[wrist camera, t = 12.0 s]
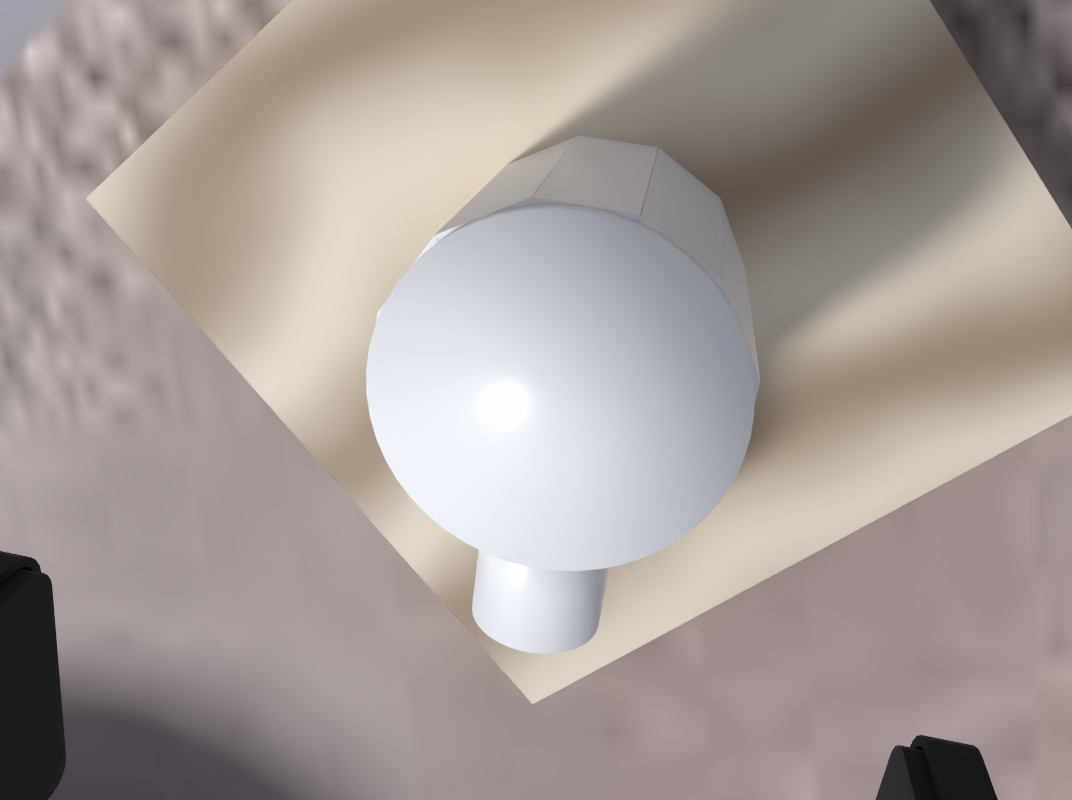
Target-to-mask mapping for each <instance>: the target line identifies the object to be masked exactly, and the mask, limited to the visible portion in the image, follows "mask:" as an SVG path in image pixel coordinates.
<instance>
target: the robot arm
mask: <svg viewBox="0 0 1072 800" xmlns="http://www.w3.org/2000/svg"><path fill="white" fill-rule="evenodd" d="M65 763H66V752H65V740H64V727H63V715H62V703H61V690H60V678H59V666H58V653H57V641H56V628H55V616H54V604H53V591H52V584H51V580H50V578H49V576H48V575H46V574H44V573H41V569H40V566H39V564H38V563H37V561H36V560H35V559H33V558H31V557H27V556H22V555H17V554H12V553H7V552H2V551H0V800H48V798H49V797H50V796H51V795H52V793H53V792H54V791H55V789H56V788H57V786H58V784H59V782H60V780H61V777H62V775H63V772H64V768H65ZM876 800H998V799H997V797H996V794H995V791H994V788H993V786H992V783H991V780H990V777H989V774H988V772H987V769H986V766H985V763H984V760H983V758H982V755H981V753H980V751H979V749H978V748H976V747H975V746H973V745H968V744H963V743H958V742H953V741H948V740H943V739H938V738H933V737H928V736H923V735H919V736H916V738H915V739H914V740H913V742H912V744H911V746H910V747H905V746H900V745H898V746H895V747H894V749H893V750H892V753H891V755H890V758H889V761H888V764H887V767H886V770H885V773H884V776H883V779H882V782H881V785H880V788H879V791H878V794H877V797H876Z"/></svg>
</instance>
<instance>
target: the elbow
mask: <svg viewBox="0 0 1072 800" xmlns="http://www.w3.org/2000/svg"><path fill="white" fill-rule="evenodd" d="M759 384H760V373H759V366H758V358H757V351H756V343H755V336H754V328H753V321H752V313H751V306H750V298H749V291H748V283H747V276H746V270H745V267H744V264H743V261H742V258H741V255H740V253H739V250H738V247H737V244H736V241H735V238H734V235H733V233H732V230H731V227H730V224H729V221H728V218H727V215H726V213H725V210H724V207H723V204H722V201H721V198H720V197H719V196H717V195H716V194H715V193H714V192H712V191H711V190H710V189H709V188H708V187H706V186H705V185H704V184H703V183H702V182H700V181H699V180H698V179H697V178H695V177H694V176H693V175H692V174H691V173H689V172H688V171H687V170H686V169H685V168H683V167H682V166H681V165H680V164H678V163H677V162H676V161H675V160H674V159H672V158H671V157H670V156H669V155H668V154H666V153H665V152H664V151H663V150H661V149H660V148H658V147H654V146H647V145H641V144H634V143H628V142H621V141H615V140H608V139H602V138H595V137H589V136H582V135H578V136H576V137H573V138H571V139H568V140H566V141H563V142H561V143H558V144H556V145H554V146H551V147H549V148H546V149H544V150H541V151H539V152H536V153H534V154H531V155H529V156H527V157H524V158H522V159H519V160H517V161H514V162H512V163H509V164H507V165H506V166H505V167H504V168H503V169H502V170H501V171H500V172H499V173H498V174H497V175H496V176H495V177H494V178H493V179H492V180H490V181H489V182H488V183H487V184H486V185H485V186H484V187H483V188H482V189H481V190H480V191H479V192H478V193H477V194H476V195H475V196H474V197H473V198H472V199H471V200H470V201H469V202H468V203H467V204H466V205H465V206H464V207H463V208H462V209H461V210H460V211H459V212H458V213H457V214H456V215H455V216H453V217H452V218H451V219H450V220H449V221H448V222H447V223H446V224H445V225H444V226H443V227H442V228H441V229H440V230H439V231H438V232H437V233H436V234H435V235H434V236H433V237H432V239H431V240H430V242H429V243H428V244H427V246H426V247H425V248H424V250H423V251H422V252H421V254H420V255H419V257H418V258H417V259H416V261H415V262H414V263H413V265H412V266H411V267H410V268H409V270H408V271H407V272H406V273H405V274H404V276H403V277H402V278H401V279H400V280H399V281H398V283H397V284H396V286H395V287H394V289H393V291H392V292H391V294H390V295H389V297H388V299H387V300H386V302H385V303H384V304H383V306H382V307H381V308H380V310H379V311H378V313H377V320H376V324H375V328H374V331H373V335H372V338H371V342H370V346H369V352H368V359H367V367H366V394H367V401H368V408H369V415H370V419H371V422H372V426H373V429H374V433H375V436H376V439H377V442H378V444H379V446H380V449H381V451H382V453H383V456H384V458H385V460H386V462H387V463H388V465H389V467H390V469H391V470H392V472H393V474H394V475H395V477H396V479H397V480H398V482H399V483H400V484H401V486H402V487H403V488H404V490H405V491H406V492H407V494H408V495H409V496H410V497H411V499H412V500H413V501H414V502H415V503H416V504H417V505H418V506H419V507H420V508H421V509H422V510H423V511H424V512H425V513H426V514H427V515H428V516H429V517H430V518H432V519H433V520H434V521H435V522H436V523H438V524H439V525H440V526H441V527H442V528H444V529H445V530H446V531H448V532H449V533H451V534H452V535H454V536H455V537H457V538H459V539H460V540H462V541H463V542H465V543H467V544H469V545H471V546H473V547H475V548H477V549H478V550H479V551H478V559H477V568H476V576H475V585H474V593H473V601H472V613H473V617H474V619H475V621H476V623H477V625H478V626H479V627H480V628H481V630H482V631H483V632H484V633H486V634H487V635H488V636H489V637H491V638H492V639H493V640H495V641H497V642H499V643H501V644H503V645H505V646H507V647H510V648H513V649H516V650H520V651H524V652H529V653H537V654H555V653H562V652H567V651H571V650H574V649H576V648H579V647H581V646H582V645H584V644H586V643H587V642H588V641H589V640H591V639H592V637H593V636H594V635H595V633H596V631H597V629H598V626H599V620H600V615H601V610H602V604H603V599H604V593H605V588H606V582H607V577H608V571H609V567H613V566H618V565H623V564H626V563H629V562H632V561H635V560H638V559H641V558H644V557H647V556H649V555H651V554H653V553H655V552H657V551H659V550H661V549H663V548H666V547H668V546H669V545H671V544H672V543H674V542H675V541H677V540H678V539H680V538H681V537H683V536H685V535H686V534H687V533H689V532H690V531H691V530H692V529H693V528H694V527H696V526H697V525H698V524H699V523H700V522H701V521H703V520H704V519H705V518H706V517H707V516H708V515H709V513H710V512H711V511H712V510H713V509H714V508H715V507H716V506H717V504H718V503H719V502H720V501H721V499H722V498H723V496H724V495H725V493H726V492H727V490H728V489H729V487H730V486H731V484H732V483H733V481H734V479H735V477H736V475H737V474H738V472H739V469H740V467H741V465H742V463H743V460H744V457H745V454H746V451H747V448H748V444H749V441H750V438H751V431H752V425H753V419H754V405H755V401H756V397H757V392H758V388H759Z"/></svg>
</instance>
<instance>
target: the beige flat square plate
mask: <svg viewBox="0 0 1072 800" xmlns="http://www.w3.org/2000/svg"><path fill="white" fill-rule="evenodd" d="M578 135H582V136H589V137H595V138H602V139H608V140H615V141H621V142H628V143H634V144H641V145H647V146H654V147H658V148H660V149H661V150H663V151H664V152H665V153H666V154H668V155H669V156H670V157H671V158H672V159H674V160H675V161H676V162H677V163H678V164H680V165H681V166H682V167H683V168H685V169H686V170H687V171H688V172H689V173H691V174H692V175H693V176H694V177H695V178H697V179H698V180H699V181H700V182H702V183H703V184H704V185H705V186H706V187H708V188H709V189H710V190H711V191H712V192H714V193H715V194H716V195H717V196H719V197H720V198H721V201H722V204H723V207H724V210H725V213H726V215H727V218H728V221H729V224H730V227H731V230H732V233H733V235H734V238H735V241H736V244H737V247H738V250H739V253H740V255H741V258H742V261H743V264H744V267H745V270H746V276H747V283H748V291H749V298H750V306H751V313H752V321H753V328H754V336H755V343H756V351H757V358H758V366H759V373H760V384H759V388H758V392H757V397H756V401H755V405H754V419H753V425H752V431H751V438H750V441H749V444H748V448H747V451H746V454H745V457H744V460H743V463H742V465H741V467H740V469H739V472H738V474H737V475H736V477H735V479H734V481H733V483H732V484H731V486H730V487H729V489H728V490H727V492H726V493H725V495H724V496H723V498H722V499H721V501H720V502H719V503H718V504H717V506H716V507H715V508H714V509H713V510H712V511H711V512H710V513H709V515H708V516H707V517H706V518H705V519H704V520H703V521H701V522H700V523H699V524H698V525H697V526H696V527H694V528H693V529H692V530H691V531H690V532H689V533H687V534H686V535H685V536H683V537H681V538H680V539H678V540H677V541H675V542H674V543H672V544H671V545H669V546H668V547H666V548H663V549H661V550H659V551H657V552H655V553H653V554H651V555H649V556H647V557H644V558H641V559H638V560H635V561H632V562H629V563H626V564H623V565H618V566H613V567H609V571H608V577H607V582H606V588H605V593H604V599H603V604H602V610H601V615H600V620H599V626H598V629H597V631H596V633H595V635H594V636H593V637H592V639H591V640H589V641H588V642H587V643H586V644H584V645H582V646H581V647H579V648H576V649H574V650H571V651H567V652H562V653H555V654H537V653H529V652H524V651H520V650H516V649H513V648H510V647H507V646H505V645H503V644H501V643H499V642H497V641H495V640H493V639H492V638H491V637H489V636H488V635H487V634H486V633H484V632H483V631H482V630H481V628H480V627H479V626H478V625H477V623H476V621H475V619H474V617H473V613H472V601H473V593H474V585H475V576H476V568H477V559H478V551H479V550H478V549H477V548H475V547H473V546H471V545H469V544H467V543H465V542H463V541H462V540H460V539H459V538H457V537H455V536H454V535H452V534H451V533H449V532H448V531H446V530H445V529H444V528H442V527H441V526H440V525H439V524H438V523H436V522H435V521H434V520H433V519H432V518H430V517H429V516H428V515H427V514H426V513H425V512H424V511H423V510H422V509H421V508H420V507H419V506H418V505H417V504H416V503H415V502H414V501H413V500H412V499H411V497H410V496H409V495H408V494H407V492H406V491H405V490H404V488H403V487H402V486H401V484H400V483H399V482H398V480H397V479H396V477H395V475H394V474H393V472H392V470H391V469H390V467H389V465H388V463H387V462H386V460H385V458H384V456H383V453H382V451H381V449H380V446H379V444H378V442H377V439H376V436H375V433H374V429H373V426H372V422H371V419H370V415H369V408H368V401H367V394H366V367H367V359H368V352H369V346H370V342H371V338H372V335H373V331H374V328H375V324H376V320H377V313H378V311H379V310H380V308H381V307H382V306H383V304H384V303H385V302H386V300H387V299H388V297H389V295H390V294H391V292H392V291H393V289H394V287H395V286H396V284H397V283H398V281H399V280H400V279H401V278H402V277H403V276H404V274H405V273H406V272H407V271H408V270H409V268H410V267H411V266H412V265H413V263H414V262H415V261H416V259H417V258H418V257H419V255H420V254H421V252H422V251H423V250H424V248H425V247H426V246H427V244H428V243H429V242H430V240H431V239H432V237H433V236H434V235H435V234H436V233H437V232H438V231H439V230H440V229H441V228H442V227H443V226H444V225H445V224H446V223H447V222H448V221H449V220H450V219H451V218H452V217H453V216H455V215H456V214H457V213H458V212H459V211H460V210H461V209H462V208H463V207H464V206H465V205H466V204H467V203H468V202H469V201H470V200H471V199H472V198H473V197H474V196H475V195H476V194H477V193H478V192H479V191H480V190H481V189H482V188H483V187H484V186H485V185H486V184H487V183H488V182H489V181H490V180H492V179H493V178H494V177H495V176H496V175H497V174H498V173H499V172H500V171H501V170H502V169H503V168H504V167H505V166H506V165H507V164H509V163H512V162H514V161H517V160H519V159H522V158H524V157H527V156H529V155H531V154H534V153H536V152H539V151H541V150H544V149H546V148H549V147H551V146H554V145H556V144H558V143H561V142H563V141H566V140H568V139H571V138H573V137H576V136H578ZM86 199H87V200H88V201H89V203H90V204H91V205H92V206H93V207H94V208H95V209H96V210H97V212H98V213H99V214H100V215H101V216H102V217H103V218H104V220H105V221H106V222H107V223H108V224H109V225H110V226H111V227H112V229H113V230H114V231H115V232H116V233H117V234H118V235H119V236H120V238H121V239H122V240H123V241H124V242H125V243H126V244H127V246H128V247H129V248H130V249H131V250H132V251H133V252H134V253H135V255H136V256H137V257H138V258H139V259H140V260H141V261H142V263H143V264H144V265H145V266H146V267H147V268H148V269H149V270H150V272H151V273H152V274H153V275H154V276H155V277H156V278H157V279H158V281H159V282H160V283H161V284H162V285H163V286H164V287H165V289H166V290H167V291H168V292H169V293H170V294H171V295H172V296H173V298H174V299H175V300H176V301H177V302H178V303H179V304H180V306H181V307H182V308H183V309H184V310H185V311H186V312H187V313H188V315H189V316H190V317H191V318H192V319H193V320H194V321H195V322H196V324H197V325H198V326H199V327H200V328H201V329H202V330H203V332H204V333H205V334H206V335H207V336H208V337H209V338H210V339H211V341H212V342H213V343H214V344H215V345H216V346H217V347H218V348H219V350H220V351H221V352H222V353H223V354H224V355H225V356H226V358H227V359H228V360H229V361H230V362H231V363H232V364H233V365H234V367H235V368H236V369H237V370H238V371H239V372H240V373H241V375H242V376H243V377H244V378H245V379H246V380H247V381H248V382H249V384H250V385H251V386H252V387H253V388H254V389H255V390H256V391H257V393H258V394H259V395H260V396H261V397H262V398H263V399H264V401H265V402H266V403H267V404H268V405H269V406H270V407H271V408H272V410H273V411H274V412H275V413H276V414H277V415H278V416H279V418H280V419H281V420H282V421H283V422H284V423H285V424H286V425H287V427H288V428H289V429H290V430H291V431H292V432H293V433H294V434H295V436H296V437H297V438H298V439H299V440H300V441H301V442H302V444H303V445H304V446H305V447H306V448H307V449H308V450H309V451H310V453H311V454H312V455H313V456H314V457H315V458H316V459H317V461H318V462H319V463H320V464H321V465H322V466H323V467H324V468H325V470H326V471H327V472H328V473H329V474H330V475H331V476H332V477H333V479H334V480H335V481H336V482H337V483H338V484H339V485H340V487H341V488H342V489H343V490H344V491H345V492H346V493H347V494H348V496H349V497H350V498H351V499H352V500H353V501H354V502H355V504H356V505H357V506H358V507H359V508H360V509H361V510H362V511H363V513H364V514H365V515H366V516H367V517H368V518H369V519H370V520H371V522H372V523H373V524H374V525H375V526H376V527H377V528H378V530H379V531H380V532H381V533H382V534H383V535H384V536H385V537H386V539H387V540H388V541H389V542H390V543H391V544H392V545H393V547H394V548H395V549H396V550H397V551H398V552H399V553H400V554H401V556H402V557H403V558H404V559H405V560H406V561H407V562H408V563H409V565H410V566H411V567H412V568H413V569H414V570H415V571H416V573H417V574H418V575H419V576H420V577H421V578H422V579H423V580H424V582H425V583H426V584H427V585H428V586H429V587H430V588H431V590H432V591H433V592H434V593H435V594H436V595H437V596H438V597H439V599H440V600H441V601H442V602H443V603H444V604H445V605H446V606H447V608H448V609H449V610H450V611H451V612H452V613H453V614H454V616H455V617H456V618H457V619H458V620H459V621H460V622H461V623H462V625H463V626H464V627H465V628H466V629H467V630H468V631H469V633H470V634H471V635H472V636H473V637H474V638H475V639H476V640H477V642H478V643H479V644H480V645H481V646H482V647H483V648H484V649H485V651H486V652H487V653H488V654H489V655H490V656H491V657H492V659H493V660H494V661H495V662H496V663H497V664H498V665H499V666H500V668H501V669H502V670H503V671H504V672H505V673H506V674H507V676H508V677H509V678H510V679H511V680H512V681H513V682H514V683H515V685H516V686H517V687H518V688H519V689H520V690H521V691H522V692H523V694H524V695H525V696H526V697H527V698H528V699H529V700H530V702H531V703H532V704H534V703H536V702H538V701H540V700H541V699H543V698H545V697H547V696H549V695H551V694H553V693H555V692H556V691H558V690H560V689H562V688H564V687H566V686H568V685H569V684H571V683H573V682H575V681H577V680H579V679H581V678H582V677H584V676H586V675H588V674H590V673H592V672H594V671H595V670H597V669H599V668H601V667H603V666H605V665H607V664H609V663H610V662H612V661H614V660H616V659H618V658H620V657H622V656H623V655H625V654H627V653H629V652H631V651H633V650H635V649H636V648H638V647H640V646H642V645H644V644H646V643H648V642H650V641H651V640H653V639H655V638H657V637H659V636H661V635H663V634H664V633H666V632H668V631H670V630H672V629H674V628H676V627H677V626H679V625H681V624H683V623H685V622H687V621H689V620H690V619H692V618H694V617H696V616H698V615H700V614H702V613H704V612H705V611H707V610H709V609H711V608H713V607H715V606H717V605H718V604H720V603H722V602H724V601H726V600H728V599H730V598H731V597H733V596H735V595H737V594H739V593H741V592H743V591H745V590H746V589H748V588H750V587H752V586H754V585H756V584H758V583H759V582H761V581H763V580H765V579H767V578H769V577H771V576H772V575H774V574H776V573H778V572H780V571H782V570H784V569H785V568H787V567H789V566H791V565H793V564H795V563H797V562H799V561H800V560H802V559H804V558H806V557H808V556H810V555H812V554H813V553H815V552H817V551H819V550H821V549H823V548H825V547H826V546H828V545H830V544H832V543H834V542H836V541H838V540H840V539H841V538H843V537H845V536H847V535H849V534H851V533H853V532H854V531H856V530H858V529H860V528H862V527H864V526H866V525H867V524H869V523H871V522H873V521H875V520H877V519H879V518H880V517H882V516H884V515H886V514H888V513H890V512H892V511H894V510H895V509H897V508H899V507H901V506H903V505H905V504H907V503H908V502H910V501H912V500H914V499H916V498H918V497H920V496H921V495H923V494H925V493H927V492H929V491H931V490H933V489H934V488H936V487H938V486H940V485H942V484H944V483H946V482H948V481H949V480H951V479H953V478H955V477H957V476H959V475H961V474H962V473H964V472H966V471H968V470H970V469H972V468H974V467H975V466H977V465H979V464H981V463H983V462H985V461H987V460H989V459H990V458H992V457H994V456H996V455H998V454H1000V453H1002V452H1003V451H1005V450H1007V449H1009V448H1011V447H1013V446H1015V445H1016V444H1018V443H1020V442H1022V441H1024V440H1026V439H1028V438H1029V437H1031V436H1033V435H1035V434H1037V433H1039V432H1041V431H1043V430H1044V429H1046V428H1048V427H1050V426H1052V425H1054V424H1056V423H1057V422H1059V421H1061V420H1063V419H1065V418H1067V417H1069V416H1070V415H1072V229H1071V227H1070V225H1069V224H1068V222H1067V220H1066V219H1065V217H1064V216H1063V214H1062V212H1061V211H1060V209H1059V208H1058V206H1057V204H1056V203H1055V201H1054V200H1053V198H1052V196H1051V195H1050V193H1049V191H1048V190H1047V188H1046V187H1045V185H1044V183H1043V182H1042V180H1041V179H1040V177H1039V175H1038V174H1037V172H1036V171H1035V169H1034V167H1033V166H1032V164H1031V162H1030V161H1029V159H1028V158H1027V156H1026V154H1025V153H1024V151H1023V150H1022V148H1021V146H1020V145H1019V143H1018V142H1017V140H1016V138H1015V137H1014V135H1013V133H1012V132H1011V130H1010V129H1009V127H1008V125H1007V124H1006V122H1005V121H1004V119H1003V117H1002V116H1001V114H1000V113H999V111H998V109H997V108H996V106H995V104H994V103H993V101H992V100H991V98H990V96H989V95H988V93H987V92H986V90H985V88H984V87H983V85H982V84H981V82H980V80H979V79H978V77H977V75H976V74H975V72H974V71H973V69H972V67H971V66H970V64H969V63H968V61H967V59H966V58H965V56H964V55H963V53H962V51H961V50H960V48H959V46H958V45H957V43H956V42H955V40H954V38H953V37H952V35H951V34H950V32H949V30H948V29H947V27H946V26H945V24H944V22H943V21H942V19H941V17H940V16H939V14H938V13H937V11H936V9H935V8H934V6H933V5H932V3H931V1H930V0H292V1H291V2H290V3H289V4H288V5H287V6H286V7H285V8H284V9H283V10H282V11H281V12H280V13H279V14H278V15H277V16H276V17H274V18H273V19H272V20H271V21H270V22H269V23H268V24H267V25H266V26H265V27H264V28H263V29H262V30H261V31H260V32H259V33H258V34H257V35H256V36H255V37H254V38H253V39H252V40H251V41H249V42H248V43H247V44H246V45H245V46H244V47H243V48H242V49H241V50H240V51H239V52H238V53H237V54H236V55H235V56H234V57H233V58H232V59H231V60H230V61H229V62H228V63H227V64H226V65H224V66H223V67H222V68H221V69H220V70H219V71H218V72H217V73H216V74H215V75H214V76H213V77H212V78H211V79H210V80H209V81H208V82H207V83H206V84H205V85H204V86H203V87H202V88H201V89H199V90H198V91H197V92H196V93H195V94H194V95H193V96H192V97H191V98H190V99H189V100H188V101H187V102H186V103H185V104H184V105H183V106H182V107H181V108H180V109H179V110H178V111H177V112H175V113H174V114H173V115H172V116H171V117H170V118H169V119H168V120H167V121H166V122H165V123H164V124H163V125H162V126H161V127H160V128H159V129H158V130H157V131H156V132H155V133H154V134H153V135H152V136H150V137H149V138H148V139H147V140H146V141H145V142H144V143H143V144H142V145H141V146H140V147H139V148H138V149H137V150H136V151H135V152H134V153H133V154H132V155H131V156H130V157H129V158H128V159H127V160H125V161H124V162H123V163H122V164H121V165H120V166H119V167H118V168H117V169H116V170H115V171H114V172H113V173H112V174H111V175H110V176H109V177H108V178H107V179H106V180H105V181H104V182H103V183H102V184H100V185H99V186H98V187H97V188H96V189H95V190H94V191H93V192H92V193H91V194H90V195H89V196H88V197H87V198H86Z"/></svg>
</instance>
